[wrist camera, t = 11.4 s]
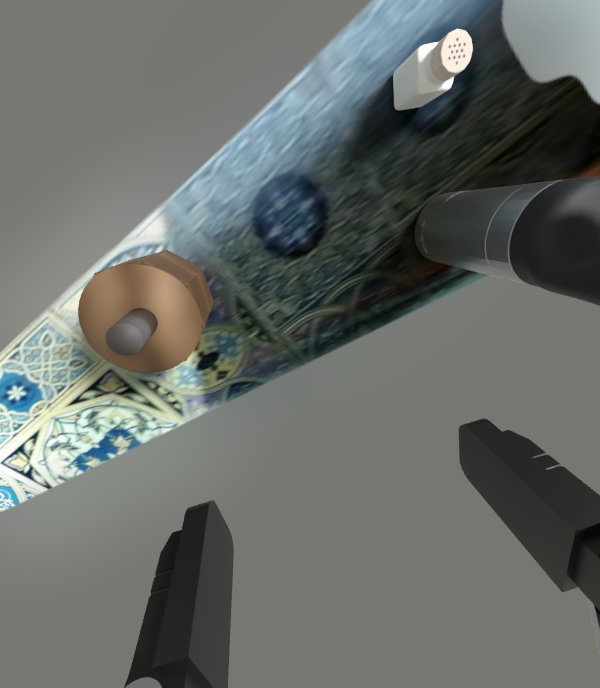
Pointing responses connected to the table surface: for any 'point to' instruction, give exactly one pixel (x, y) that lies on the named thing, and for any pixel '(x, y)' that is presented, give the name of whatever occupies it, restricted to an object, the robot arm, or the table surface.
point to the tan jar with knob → (146, 311)
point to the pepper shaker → (431, 70)
